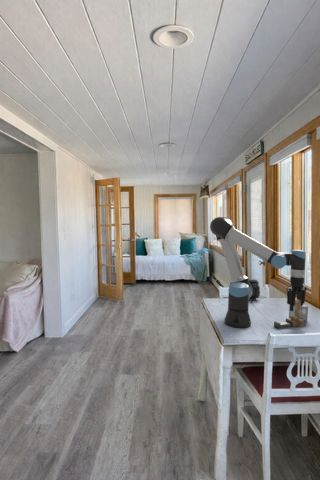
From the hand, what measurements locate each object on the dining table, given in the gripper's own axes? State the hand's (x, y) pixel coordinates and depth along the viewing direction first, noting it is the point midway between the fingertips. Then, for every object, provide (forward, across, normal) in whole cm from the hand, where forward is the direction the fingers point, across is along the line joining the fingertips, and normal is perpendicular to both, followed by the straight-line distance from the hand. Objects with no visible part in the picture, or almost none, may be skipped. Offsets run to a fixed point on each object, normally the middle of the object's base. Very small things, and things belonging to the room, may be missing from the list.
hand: (295, 315), depth 183 cm
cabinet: (+6, +10, +8) cm, 14 cm away
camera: (+6, +14, +57) cm, 59 cm away
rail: (+6, -4, 0) cm, 7 cm away
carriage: (+6, 0, 0) cm, 6 cm away
